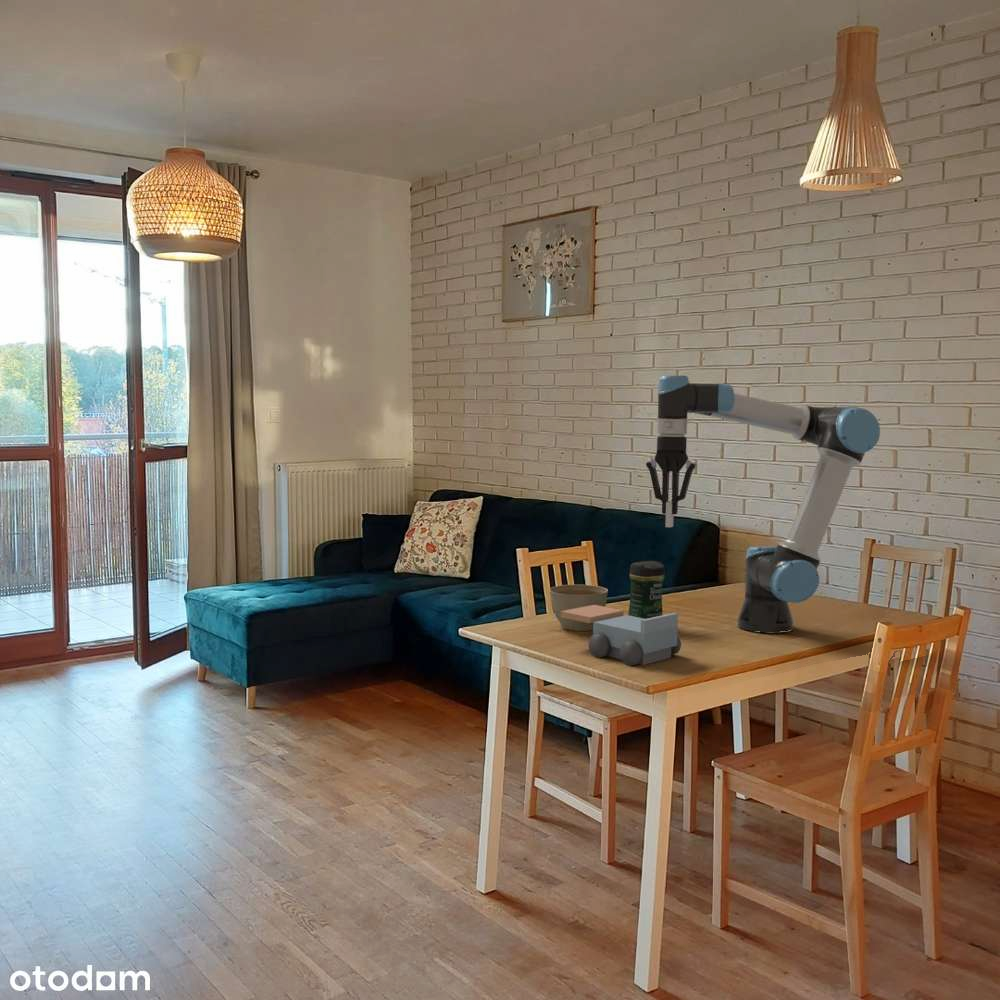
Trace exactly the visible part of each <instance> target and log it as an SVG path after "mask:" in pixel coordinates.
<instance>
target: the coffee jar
mask: <svg viewBox="0 0 1000 1000" xmlns="http://www.w3.org/2000/svg"><path fill="white" fill-rule="evenodd" d="M629 578H630V598H629V604H628V605H629V607H628V614H627V615H629V616H634V617H639V618H643V619H648V618H652V617H657V616H661V615H664V614H663V593H662V592H663V591H662V590H663V582H664V579H665V565H664V564H663V562H660V561H655V560H646V561H639V562H638V561H637V562H632V564H630V567H629Z"/></svg>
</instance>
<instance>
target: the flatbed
mask: <svg viewBox="0 0 1000 1000" xmlns="http://www.w3.org/2000/svg"><path fill="white" fill-rule="evenodd" d="M678 618H679V613H678V612H671V613H666V614H663V615H661V616H657V617H652V618H648V619H643V618H639V617H634V616H629V615H628V614H627V615H626V614H624V616H620V617H616V618H611V619H606V620H601V621H597V622H593V629H592V630H593V631H592V632H593V633H592V635H591V636H590V637H589V639H588V650H589V652H590V653H591V655H592V656H593V657H595V658H604V657H608V658H609V657H610V658H614V659H618V660H621V661H622V662H623V663H624V664H625V665H627V666H629V667H630V666H635V665H641V666H644V665H648V664H652V663H655V662H660V661H663V660H666V659H670V658H672V656H673V655H676V654H678V653H679V652H680V651H681V647H682V641H681V638H680V637H679V635H678V628H679V625H678V623H679V619H678Z"/></svg>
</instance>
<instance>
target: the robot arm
mask: <svg viewBox="0 0 1000 1000" xmlns="http://www.w3.org/2000/svg"><path fill="white" fill-rule="evenodd" d="M688 413H690V414H693V413H694V414H697V415H698V414H699V415H703V416H706V417H707V416H708V417H711V418H712V417H713V418H716V419H722V420H725V421H731V422H735V423H740V424H743V425H748V426H753V427H757V428H762V429H766V430H771V431H775V432H780V433H784V434H790V435H792V437H793V439H794V440H799V441H803V442H807V443H810V444H813V445H816V446H817V448H816V449H817V451H818V455H819V459H818V462H817V464H816V466H815V468H814V471H813V474H812V476H811V478H810V481H809V483H808V486H807V489H806V490H805V492H804V496H803V498H802V501H801V503H800V506H799V508H798V511H797V513H796V515H795V517H794V521H793V522H792V525H791V527H790V530H789V533H788V535H787V538H786V539H785V540H783V541H781V542H778V543H777V546H750V547H748V548H747V549H746V555H745V581H744V583H745V585H744V588H745V589H744V601H743V603H742V606H741V608H740V612H739V614H738V617H737V625H738V626H737V628H739V627H740V628H739V629H741V628H742V629H741V630H744V629H746V630H745V631H747V630H751V631H750V632H752V631H760V632H780V631H788V630H791V629H793V630H794V619H793V616H792V612H791V609H790V605H789V603H792V604H797V603H801V602H805V601H807V600H808V599H811V598H812V597H813V595H815V593H816V592H817V590H818V588H819V584H820V575H819V571H818V568H819V565H820V563H821V557H820V555H819V553H818V552H819V549H820V547H821V544H822V542H823V539H824V538H825V535H826V531H827V530H828V528H829V525H830V523H831V520H832V518H833V515H834V513H835V510H836V508H837V505H838V503H839V501H840V498H841V496H842V494H843V491H844V488H845V487H846V484H847V481H848V479H849V476H850V474H851V472H852V469H853V468H854V467H857V466H859V465H861V463H862V461H863V458H864V456H865V453H868V452H869V451H870V450H871V451H872V449H874V447H876V445H877V444H878V442H879V439H880V436H881V427H880V426H881V425H880V424H879V421H878V419H877V417H876V416H875V415H874V414H873V413H872V412H871V411H869V410H868V409H866V408H862V407H857V406H826V407H823V406H811V405H806V404H802V405H800V406H799V407H797V406H793V405H788V404H783V403H778V402H775V401H771V400H768V399H767V400H766V399H761V398H757V397H754V396H753V397H752V396H749V395H745V394H740V393H735V389H734V387H733V386H732V385H730V383H729V384H727V383H726V384H725V383H721V382H720V383H691V382H690V381H689V377H688V376H687V375H681V374H679V375H676V374H675V375H672V374H671V375H670V374H668V375H667V374H666V375H662V376H660V378H659V381H658V390H657V427H656V428H657V430H656V431H657V432H656V433H657V434H658V435H659V436H657V438H656V453H655V455H654V459H652V460H650V461H647V462H646V463H645V465H646V468H647V469H648V470H649V475H650V479H651V483H652V488H653V494H654V498H655V499H657V500H659V501H661V514H662V515H663V514H664V515H665V528H674V516H675V515H677V514H678V512H679V511H678V509H679V507H678V506H679V501H682V500H685V499H686V497H687V492H688V488H689V486H690V481H691V478H692V474H693V472H694V470H695V469H696V468H697V464H696V463H695V462H692V461H691V460H689V457H688V454H687V440H688V439H687V437H686V435H688ZM657 466H658V467H659V468H660V470H661V471H662V472H661V474H662V478H661V479H662V481H661V483H662V484H660V482H659V476H658V472H657V469H656V468H657ZM683 467H685V469H686V471H685V474H684V476H683V481H682V485H681V488H680V487H679V485H680V484H679V483H680V482H679V481H680V471H681V470H682V469H683ZM670 474H671V478H672V481H671V482H672V483H671V501H669V499H670V497H669V496H670V495H669V492H670ZM660 485H662V487H660ZM679 489H680V490H679ZM760 632H759V633H760Z"/></svg>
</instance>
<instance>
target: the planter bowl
mask: <svg viewBox="0 0 1000 1000" xmlns="http://www.w3.org/2000/svg"><path fill="white" fill-rule="evenodd" d="M548 590H549V596H550V599H549V601H550V604H551V609H552V612H553V614H554V616H555V617H556V619H557V620H558V621H559V624H560V627H561V628H562V627H563V628H565V629H564V630H566V629H569V630H568V631H571V630H575V631H576V632H585V631H586V632H587V631H592V630H593V623H586V622H582V621H577V620H572V619H568V618H563V617H561V611H565V610H570V609H575V608H580V607H585V606H591V605H598V606H603V607H607V599H608V598H607V597H608V592H609V590H608V588H606V587H603V586H599V585H593V584H592V585H591V584H562V585H556V586H552V587H550V588H549V589H548ZM563 628H562V629H563ZM575 631H574V632H575Z"/></svg>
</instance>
